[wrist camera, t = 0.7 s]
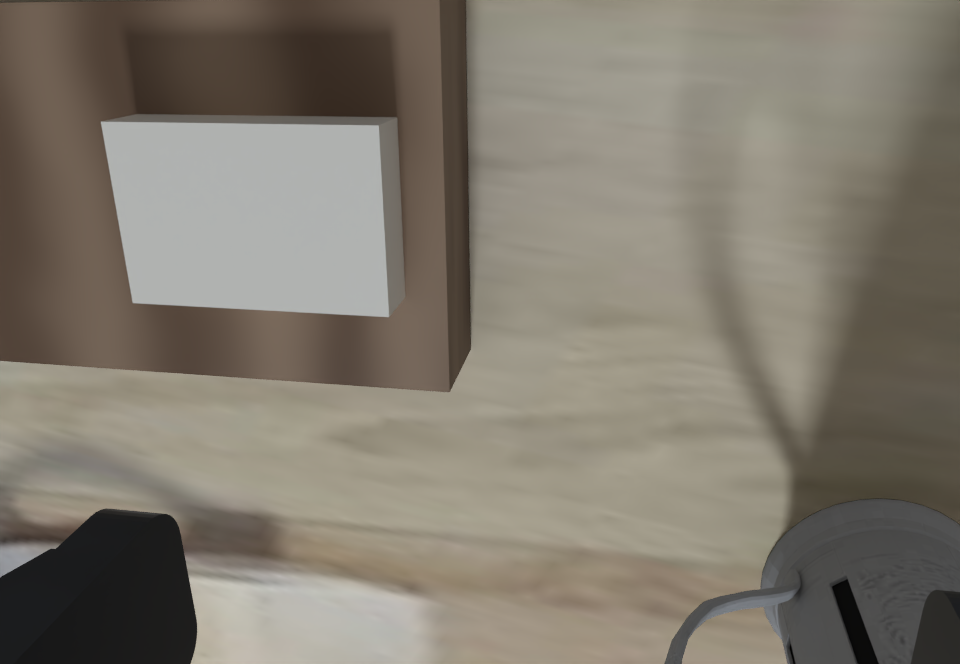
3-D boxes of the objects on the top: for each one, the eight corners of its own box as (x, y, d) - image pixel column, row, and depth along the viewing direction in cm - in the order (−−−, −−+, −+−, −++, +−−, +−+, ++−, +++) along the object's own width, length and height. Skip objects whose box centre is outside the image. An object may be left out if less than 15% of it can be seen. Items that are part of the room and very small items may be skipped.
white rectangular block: (397, 117, 26) (378, 125, 24) (405, 296, 28) (389, 317, 26) (136, 113, 27) (100, 121, 25) (164, 284, 29) (132, 303, 28)
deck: (465, -2, 28) (439, -4, 24) (470, 349, 33) (449, 392, 29) (-47, 5, 31) (-138, 4, 28) (26, 322, 36) (-44, 357, 32)
